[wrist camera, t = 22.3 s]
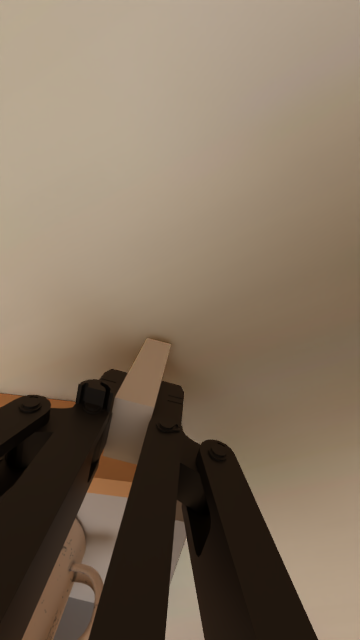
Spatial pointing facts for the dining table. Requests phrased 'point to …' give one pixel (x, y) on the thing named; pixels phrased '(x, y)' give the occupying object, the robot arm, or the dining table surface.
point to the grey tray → (102, 556)
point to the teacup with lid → (64, 588)
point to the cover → (110, 472)
